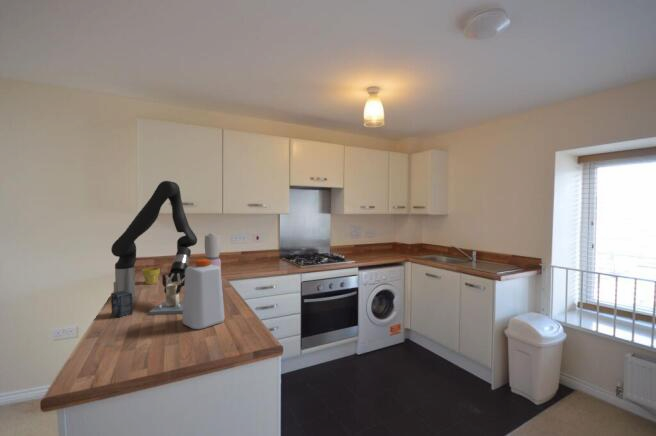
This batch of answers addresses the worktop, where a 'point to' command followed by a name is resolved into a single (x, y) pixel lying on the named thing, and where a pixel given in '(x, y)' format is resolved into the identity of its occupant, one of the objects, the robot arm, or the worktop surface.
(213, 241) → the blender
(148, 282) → the plant pot
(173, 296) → the birch block
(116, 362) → the worktop surface
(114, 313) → the box
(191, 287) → the plastic bottle
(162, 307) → the locating plate
